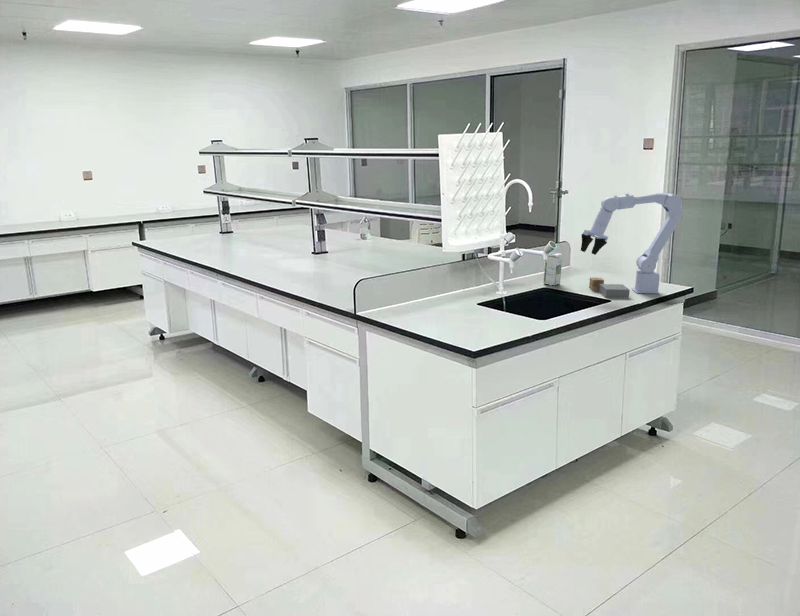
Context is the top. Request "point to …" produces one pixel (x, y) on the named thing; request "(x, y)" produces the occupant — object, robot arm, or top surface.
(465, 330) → the top surface
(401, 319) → the top surface
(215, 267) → the top surface
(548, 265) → the syrup box
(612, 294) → the charcoal base block
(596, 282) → the walnut cube
